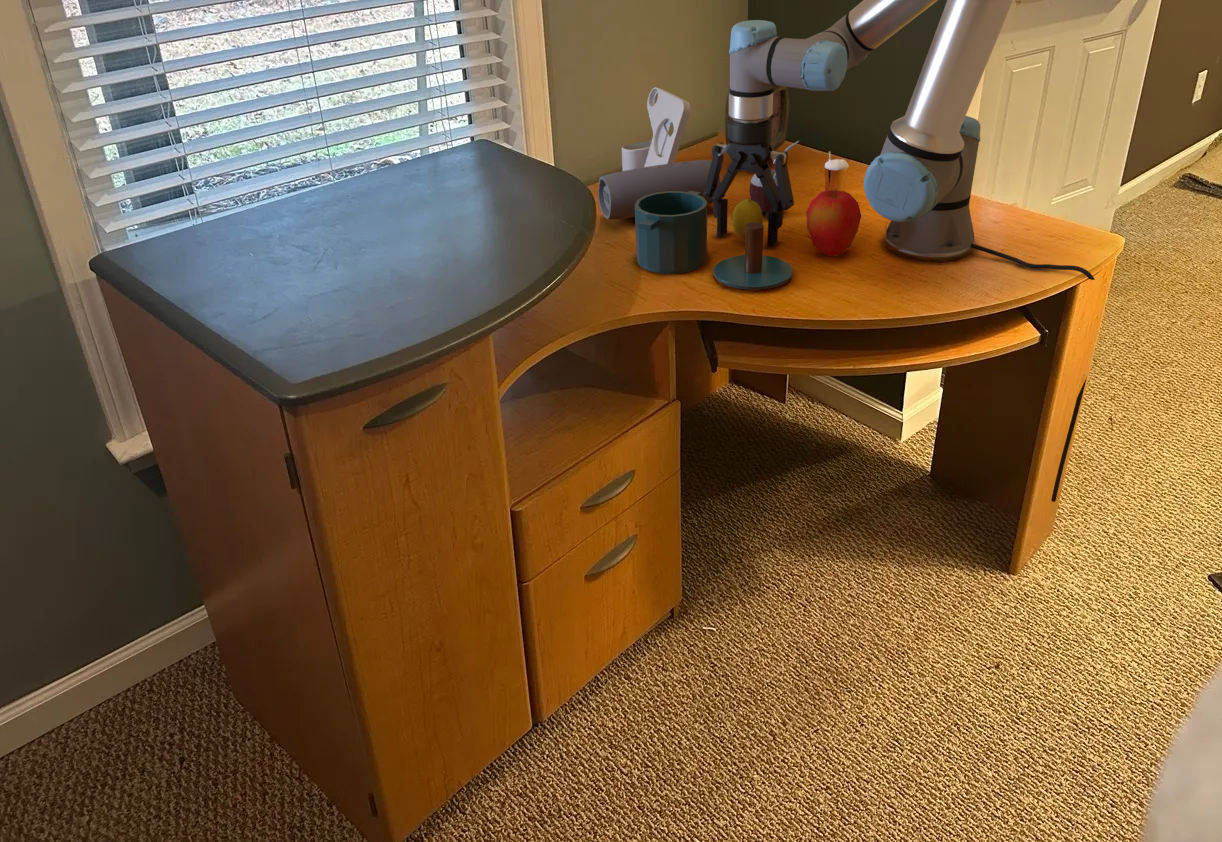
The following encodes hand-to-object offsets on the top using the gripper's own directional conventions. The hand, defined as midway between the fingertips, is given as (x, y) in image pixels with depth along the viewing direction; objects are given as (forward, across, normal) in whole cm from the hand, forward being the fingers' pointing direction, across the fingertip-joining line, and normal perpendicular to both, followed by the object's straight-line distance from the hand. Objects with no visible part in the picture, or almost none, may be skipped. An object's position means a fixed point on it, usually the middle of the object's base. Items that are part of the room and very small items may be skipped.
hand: (746, 239), depth 182 cm
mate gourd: (0, +2, -14) cm, 14 cm away
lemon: (0, 0, 0) cm, 0 cm away
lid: (0, -8, +14) cm, 16 cm away
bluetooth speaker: (0, +21, -4) cm, 21 cm away
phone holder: (0, +32, -21) cm, 38 cm away
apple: (0, -16, -1) cm, 16 cm away
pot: (0, +8, +14) cm, 16 cm away
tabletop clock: (+1, +18, -41) cm, 45 cm away
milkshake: (0, -7, -24) cm, 25 cm away
